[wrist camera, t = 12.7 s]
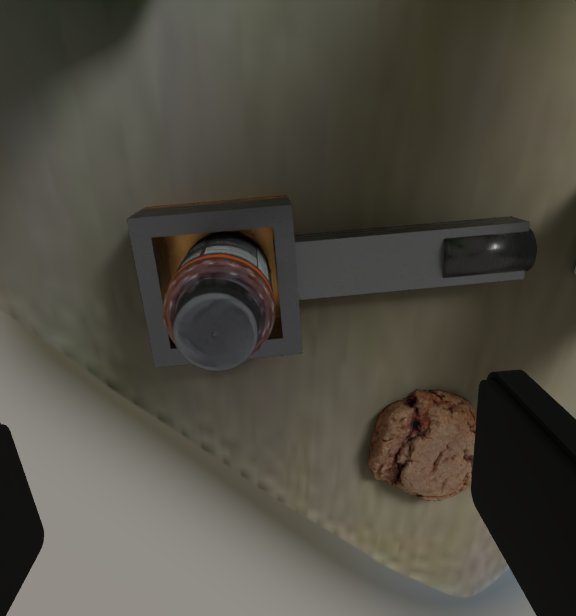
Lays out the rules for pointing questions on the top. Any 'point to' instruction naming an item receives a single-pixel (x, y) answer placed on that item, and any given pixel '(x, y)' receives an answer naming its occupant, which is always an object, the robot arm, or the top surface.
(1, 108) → the top surface
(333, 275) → the grey long handled piece
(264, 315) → the supplement bottle
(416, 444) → the cookie
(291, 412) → the top surface
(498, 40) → the top surface
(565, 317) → the top surface
